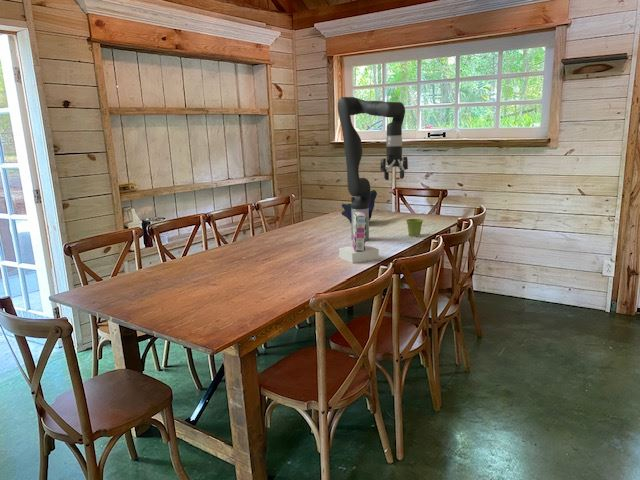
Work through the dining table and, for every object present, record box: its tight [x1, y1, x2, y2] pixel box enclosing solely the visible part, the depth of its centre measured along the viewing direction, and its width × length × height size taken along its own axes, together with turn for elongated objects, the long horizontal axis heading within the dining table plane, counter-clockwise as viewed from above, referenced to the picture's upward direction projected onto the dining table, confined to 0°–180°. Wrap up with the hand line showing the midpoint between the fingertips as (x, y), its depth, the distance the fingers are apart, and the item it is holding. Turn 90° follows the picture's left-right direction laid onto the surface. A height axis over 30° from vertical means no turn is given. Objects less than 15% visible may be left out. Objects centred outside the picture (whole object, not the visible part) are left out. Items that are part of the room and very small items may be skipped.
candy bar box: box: [352, 212, 366, 251], centre depth 216 cm, size 11×5×16 cm, turn 1°
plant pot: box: [405, 218, 424, 237], centre depth 261 cm, size 9×9×9 cm
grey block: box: [338, 243, 380, 264], centre depth 219 cm, size 12×14×5 cm
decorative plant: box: [341, 189, 378, 224], centre depth 303 cm, size 21×26×30 cm
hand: (394, 179), depth 229 cm, fingers open, 8 cm apart
